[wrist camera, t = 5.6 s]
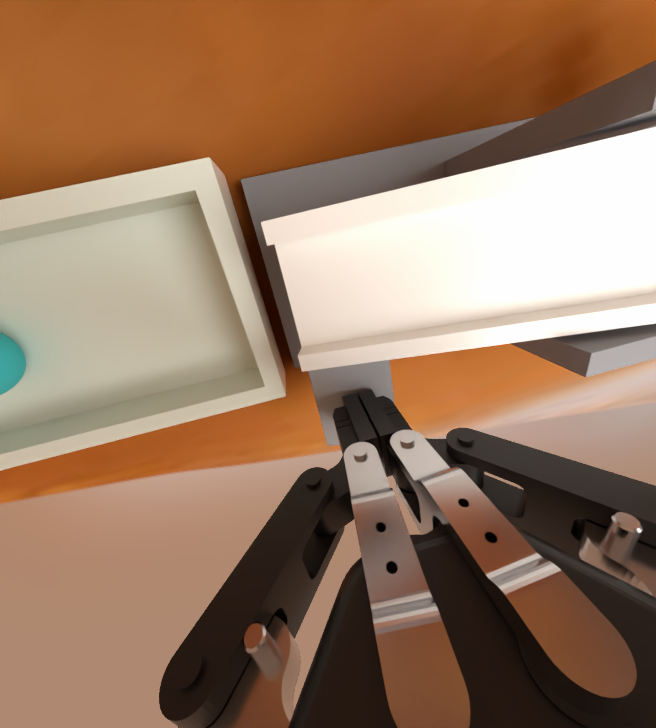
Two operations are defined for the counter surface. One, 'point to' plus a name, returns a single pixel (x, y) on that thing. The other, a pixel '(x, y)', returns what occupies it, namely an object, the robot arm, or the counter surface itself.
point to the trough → (471, 263)
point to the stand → (461, 155)
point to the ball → (10, 363)
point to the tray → (129, 310)
